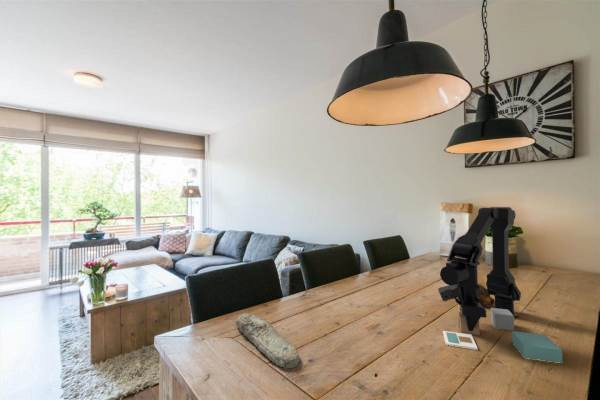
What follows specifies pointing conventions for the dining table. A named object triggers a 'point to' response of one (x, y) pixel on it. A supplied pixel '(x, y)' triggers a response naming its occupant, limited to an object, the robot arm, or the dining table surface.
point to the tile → (459, 340)
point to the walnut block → (463, 325)
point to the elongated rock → (268, 340)
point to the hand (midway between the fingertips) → (468, 326)
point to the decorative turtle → (484, 295)
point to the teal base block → (536, 346)
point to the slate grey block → (502, 319)
